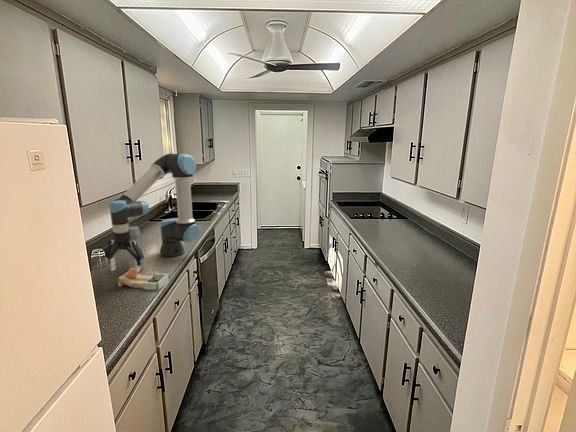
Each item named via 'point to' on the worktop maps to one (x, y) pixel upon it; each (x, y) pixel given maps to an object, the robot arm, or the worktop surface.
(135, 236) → the water bottle
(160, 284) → the tray
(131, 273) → the ball
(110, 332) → the worktop surface
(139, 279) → the ramp lane
